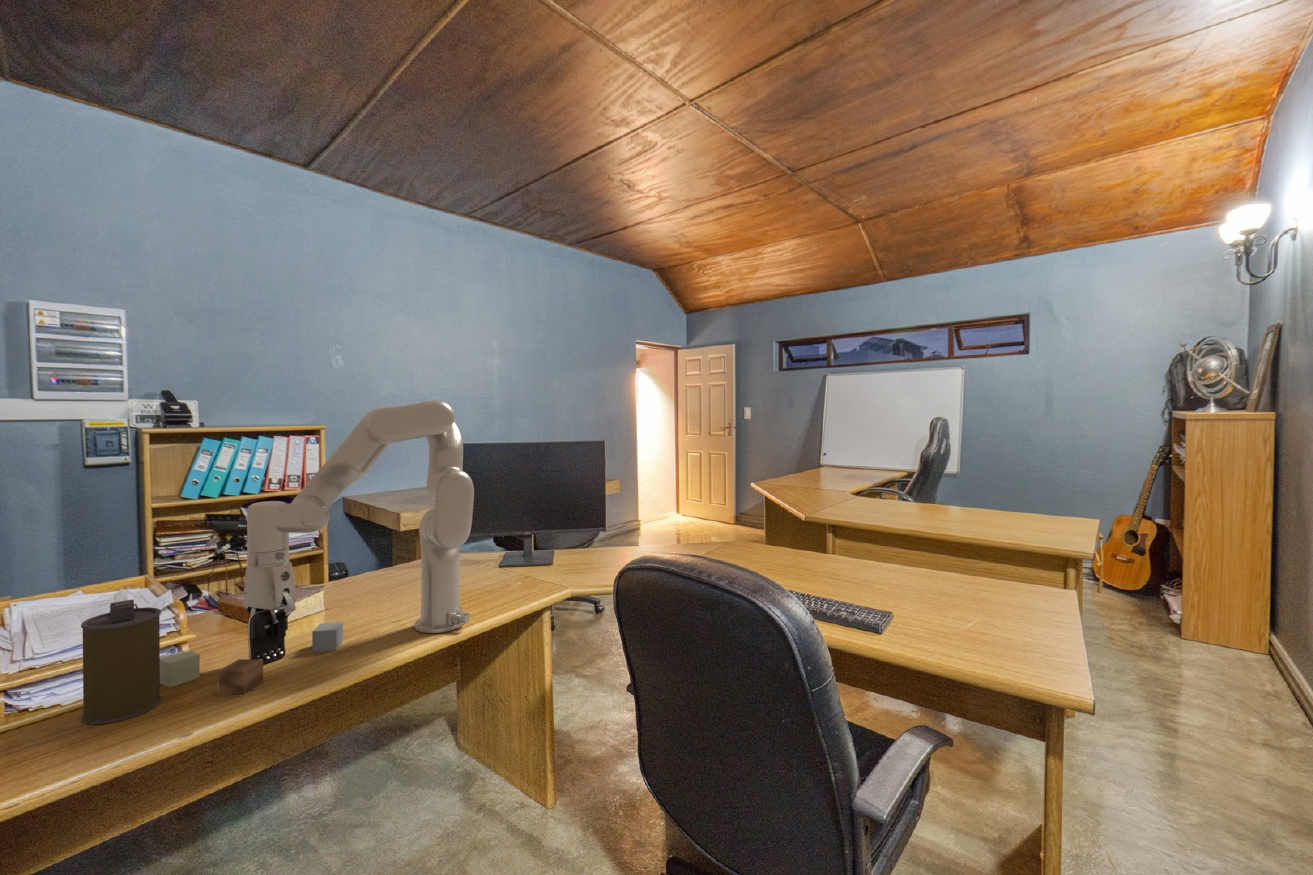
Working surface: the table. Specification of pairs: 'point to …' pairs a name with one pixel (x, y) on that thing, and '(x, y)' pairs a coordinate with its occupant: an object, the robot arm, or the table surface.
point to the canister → (121, 663)
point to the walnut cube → (240, 677)
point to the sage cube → (179, 668)
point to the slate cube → (327, 637)
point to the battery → (264, 638)
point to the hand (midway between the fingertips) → (269, 636)
